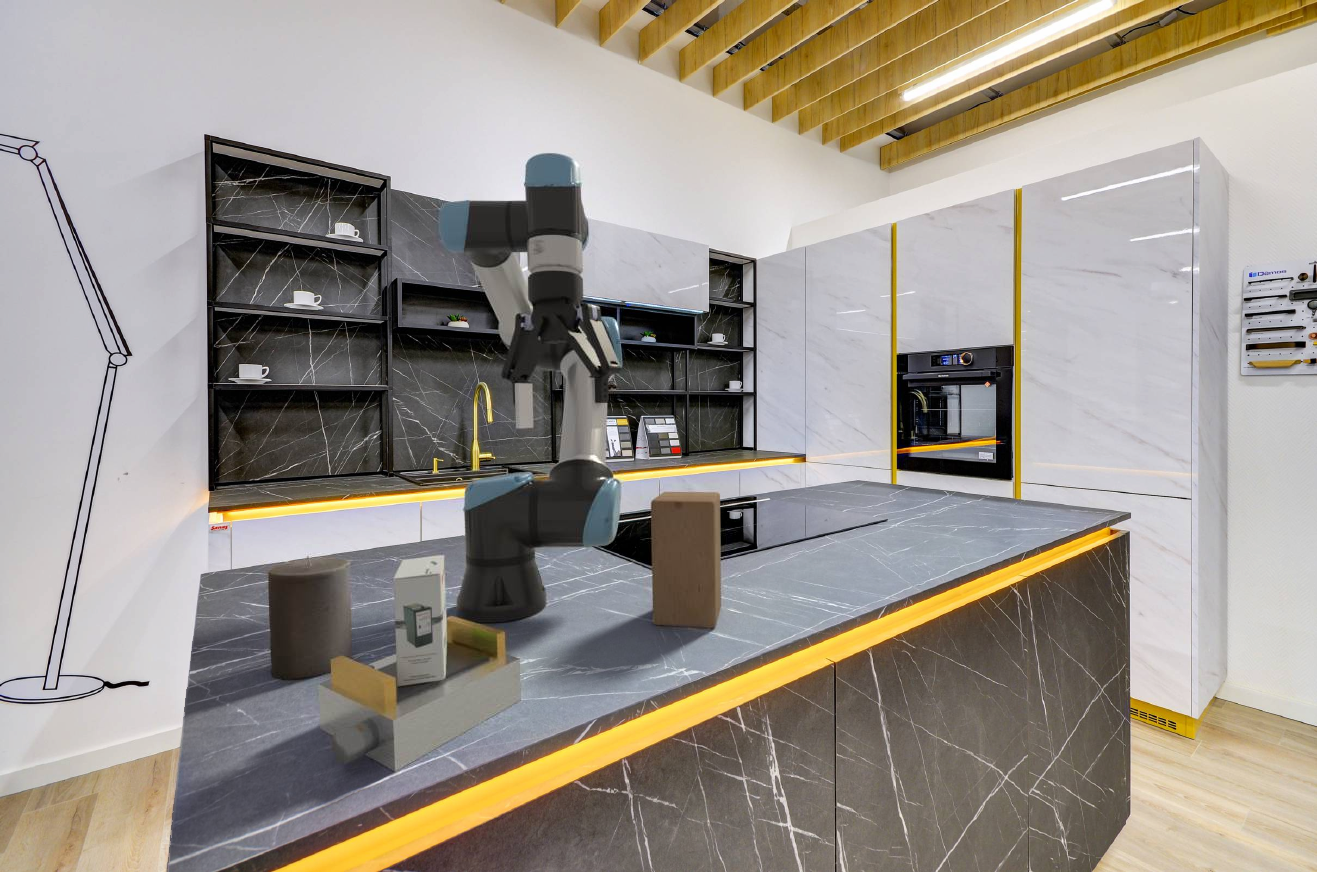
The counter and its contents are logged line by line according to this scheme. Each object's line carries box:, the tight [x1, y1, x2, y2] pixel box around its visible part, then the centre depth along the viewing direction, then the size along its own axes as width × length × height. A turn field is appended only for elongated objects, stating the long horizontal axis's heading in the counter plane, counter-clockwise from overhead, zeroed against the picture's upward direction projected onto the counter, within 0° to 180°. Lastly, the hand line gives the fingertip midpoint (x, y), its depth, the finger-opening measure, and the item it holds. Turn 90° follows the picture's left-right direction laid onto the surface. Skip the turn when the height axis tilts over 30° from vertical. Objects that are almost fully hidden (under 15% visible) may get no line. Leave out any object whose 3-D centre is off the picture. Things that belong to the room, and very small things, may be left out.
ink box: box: [392, 554, 447, 686], centre depth 65 cm, size 9×5×12 cm, turn 18°
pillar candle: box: [267, 555, 353, 681], centre depth 79 cm, size 10×10×15 cm
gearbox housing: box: [318, 615, 522, 772], centre depth 64 cm, size 14×19×8 cm
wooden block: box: [650, 491, 722, 629], centre depth 94 cm, size 10×10×20 cm
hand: (559, 428), depth 80 cm, fingers open, 13 cm apart
